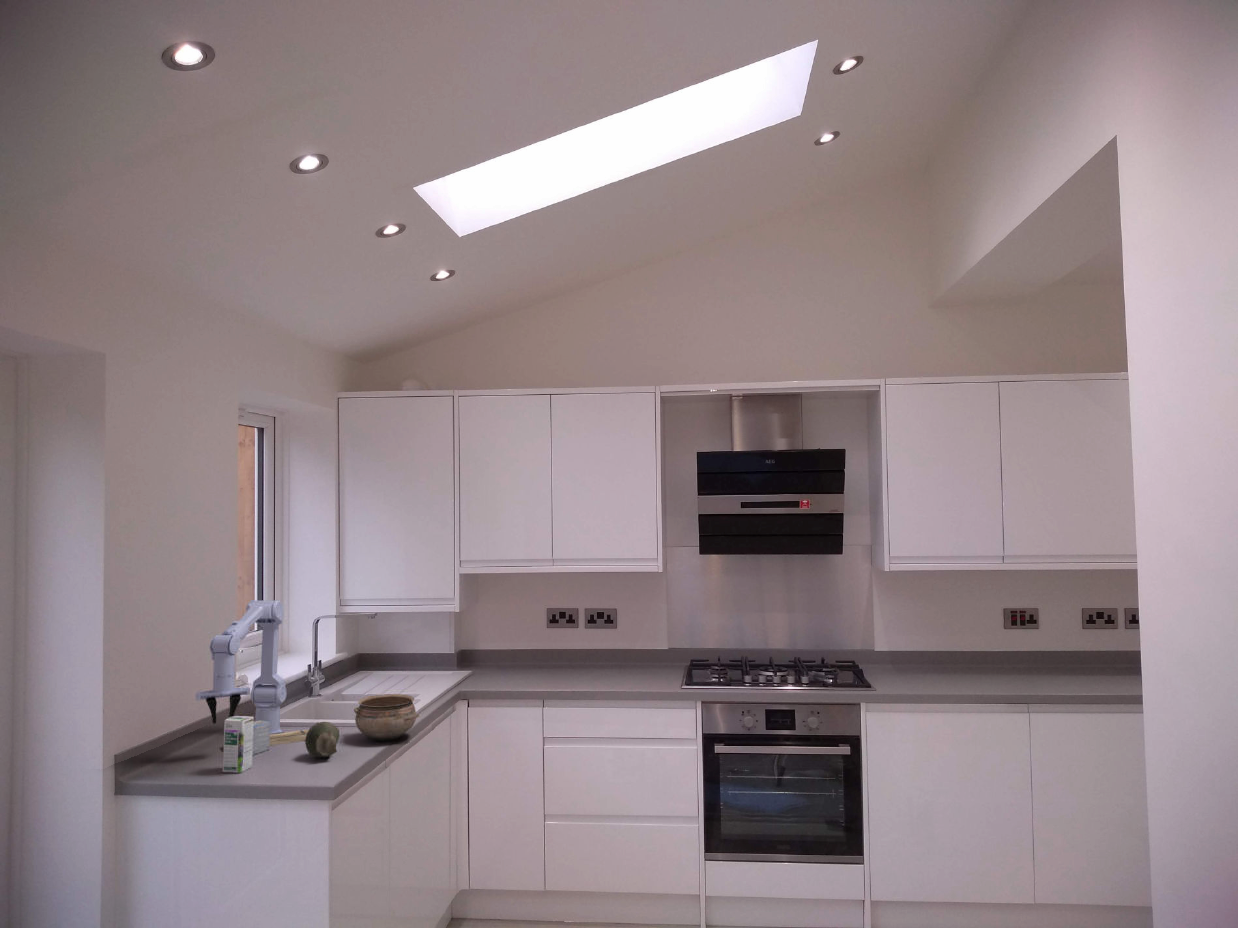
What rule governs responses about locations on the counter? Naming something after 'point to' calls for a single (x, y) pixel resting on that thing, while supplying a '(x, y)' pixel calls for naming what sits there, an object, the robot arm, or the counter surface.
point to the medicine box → (261, 736)
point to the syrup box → (238, 744)
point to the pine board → (287, 737)
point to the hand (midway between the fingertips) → (222, 721)
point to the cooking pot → (385, 716)
